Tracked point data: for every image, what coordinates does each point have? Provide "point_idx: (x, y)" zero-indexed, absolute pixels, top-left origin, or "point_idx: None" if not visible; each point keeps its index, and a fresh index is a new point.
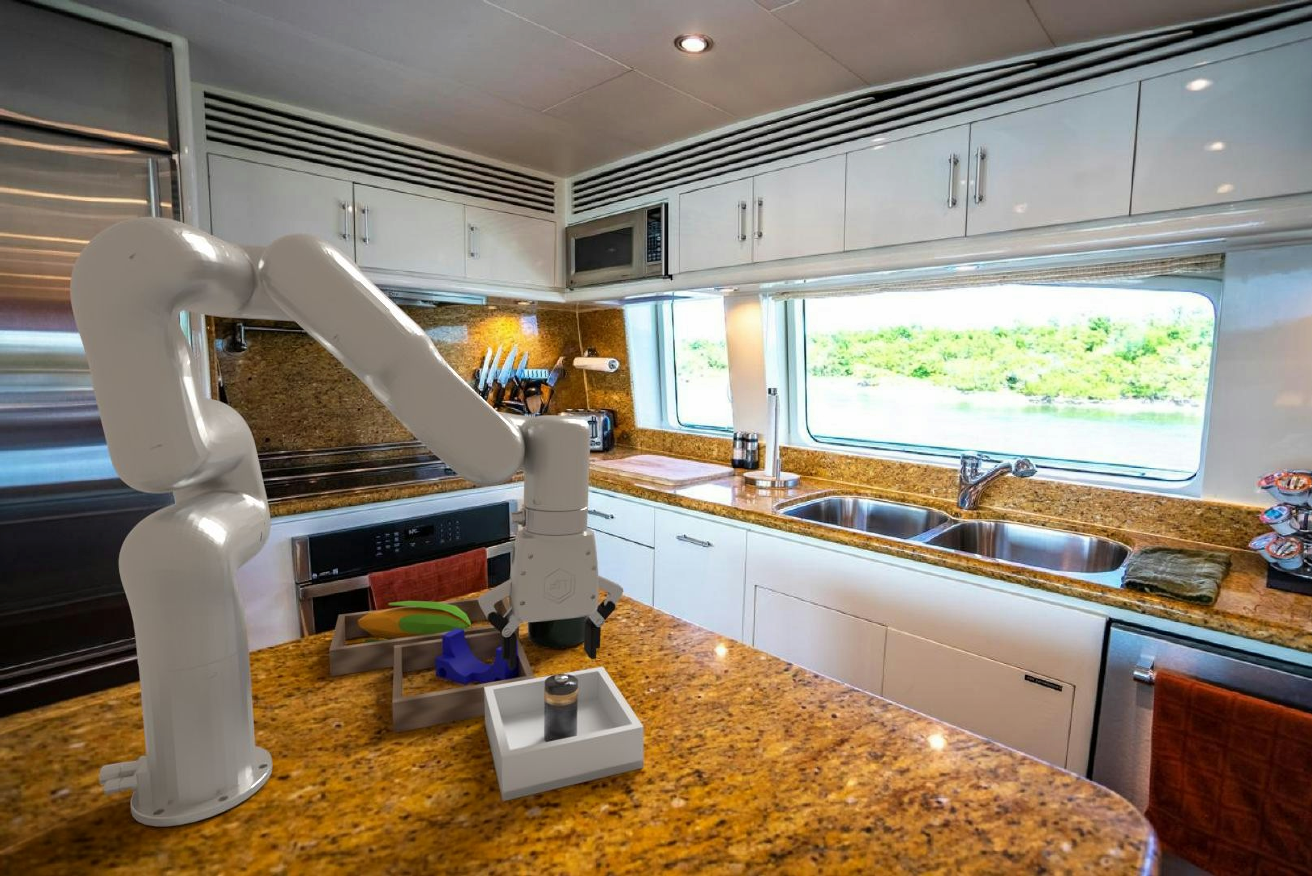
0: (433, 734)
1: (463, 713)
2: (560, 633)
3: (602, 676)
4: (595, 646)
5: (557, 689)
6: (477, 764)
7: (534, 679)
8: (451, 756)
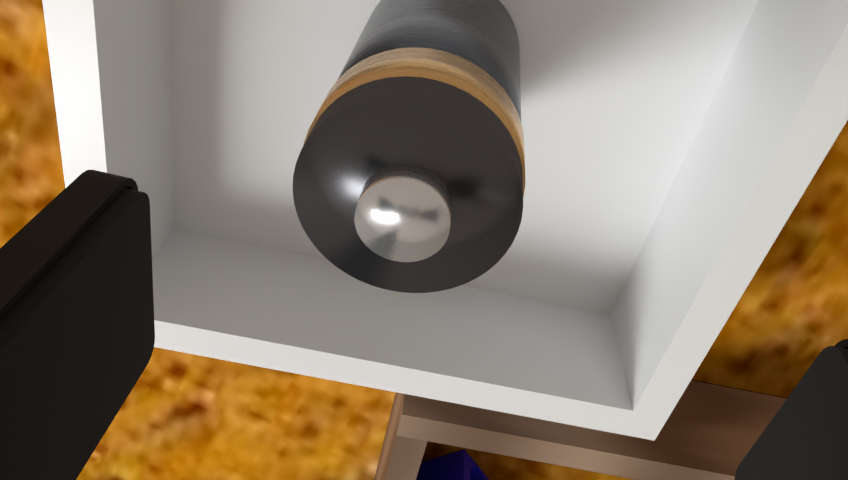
0: (800, 355)
1: None
2: None
3: None
4: (30, 234)
5: (482, 120)
6: None
7: (432, 392)
8: (838, 211)
